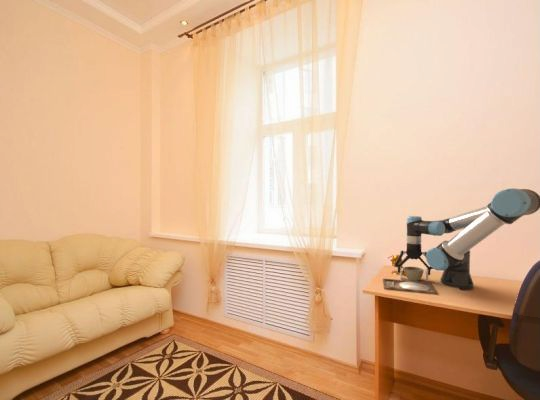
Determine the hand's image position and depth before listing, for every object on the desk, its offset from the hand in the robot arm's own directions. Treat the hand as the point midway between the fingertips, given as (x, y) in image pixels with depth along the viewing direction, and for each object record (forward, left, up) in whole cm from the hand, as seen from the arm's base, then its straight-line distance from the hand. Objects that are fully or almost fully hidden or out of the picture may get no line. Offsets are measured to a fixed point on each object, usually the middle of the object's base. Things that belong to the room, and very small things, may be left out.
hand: (413, 279), depth 161 cm
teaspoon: (+12, +14, 0) cm, 19 cm away
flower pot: (0, 0, -1) cm, 1 cm away
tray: (+5, +15, -1) cm, 16 cm away
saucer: (+2, +15, 0) cm, 15 cm away
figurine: (+7, -13, -1) cm, 15 cm away
